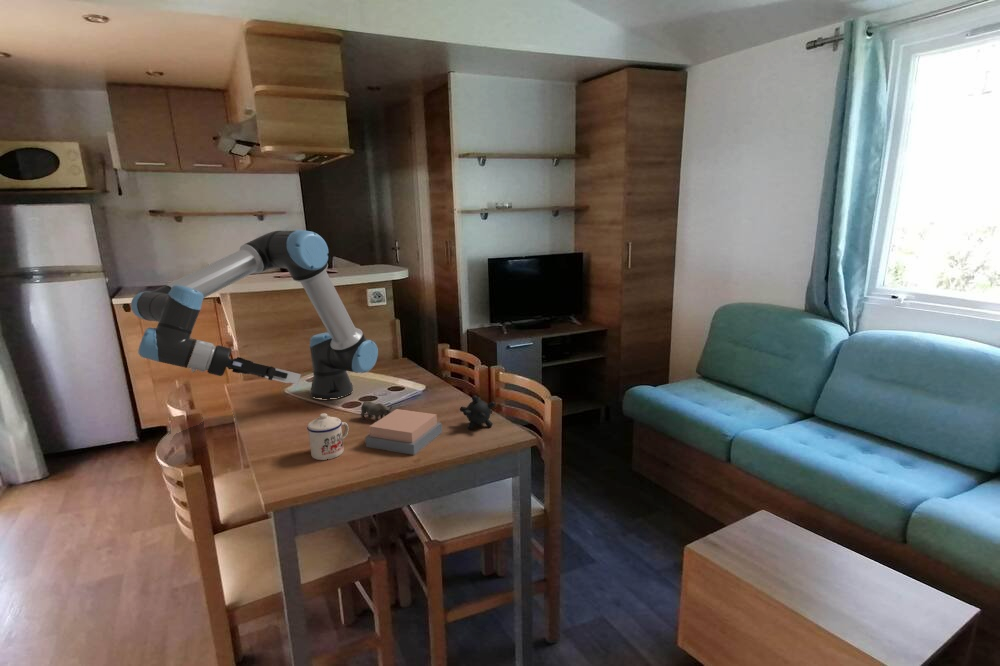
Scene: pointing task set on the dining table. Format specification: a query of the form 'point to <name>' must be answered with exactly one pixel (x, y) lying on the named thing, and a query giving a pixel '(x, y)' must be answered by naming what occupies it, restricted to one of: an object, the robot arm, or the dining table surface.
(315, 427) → the teacup with lid
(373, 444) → the brick plinth
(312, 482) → the dining table surface
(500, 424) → the dining table surface
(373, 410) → the rhino figurine
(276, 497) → the dining table surface
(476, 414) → the toy ball
